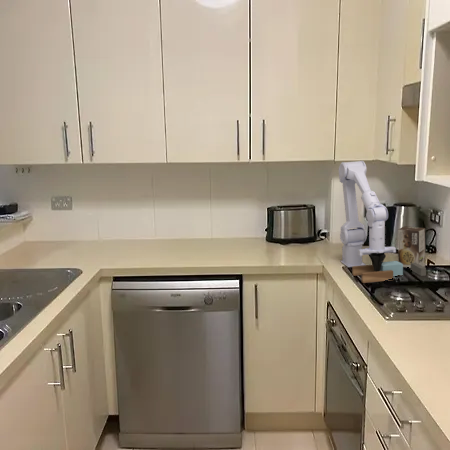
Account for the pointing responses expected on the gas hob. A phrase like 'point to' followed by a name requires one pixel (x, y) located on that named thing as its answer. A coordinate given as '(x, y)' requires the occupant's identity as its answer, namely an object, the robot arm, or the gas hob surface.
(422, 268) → the block
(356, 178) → the robot arm
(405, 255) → the cookie box
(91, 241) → the gas hob surface
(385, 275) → the chute
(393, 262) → the block
